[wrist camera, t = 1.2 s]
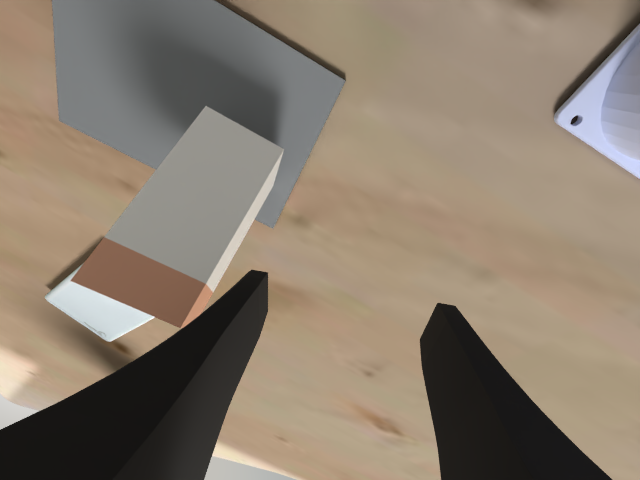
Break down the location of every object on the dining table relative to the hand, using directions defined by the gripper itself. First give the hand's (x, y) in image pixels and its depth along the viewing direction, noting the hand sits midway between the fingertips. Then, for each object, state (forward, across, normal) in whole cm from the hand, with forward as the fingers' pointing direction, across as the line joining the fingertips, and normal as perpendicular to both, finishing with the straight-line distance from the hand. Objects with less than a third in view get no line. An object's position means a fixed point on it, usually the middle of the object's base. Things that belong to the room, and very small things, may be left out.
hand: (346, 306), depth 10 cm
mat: (+10, +11, -4) cm, 16 cm away
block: (+9, +7, -2) cm, 12 cm away
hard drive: (+11, +23, +16) cm, 30 cm away
